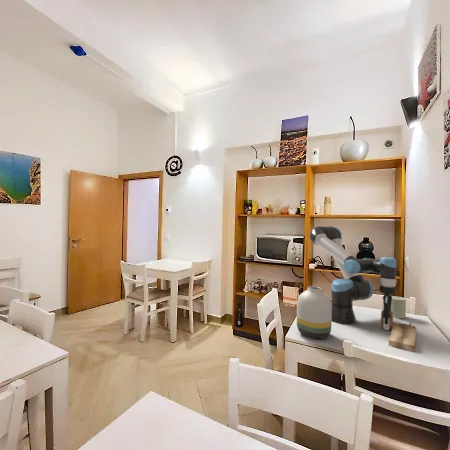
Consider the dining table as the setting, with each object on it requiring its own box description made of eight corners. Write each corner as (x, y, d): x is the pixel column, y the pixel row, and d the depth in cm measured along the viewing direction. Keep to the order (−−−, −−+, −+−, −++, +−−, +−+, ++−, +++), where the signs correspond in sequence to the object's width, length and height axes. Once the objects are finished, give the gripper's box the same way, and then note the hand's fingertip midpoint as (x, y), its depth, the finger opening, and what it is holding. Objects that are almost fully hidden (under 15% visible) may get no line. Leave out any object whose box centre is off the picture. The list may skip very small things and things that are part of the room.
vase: (331, 344, 124) (332, 293, 124) (294, 338, 130) (295, 289, 130) (330, 330, 140) (331, 285, 140) (297, 326, 146) (298, 282, 146)
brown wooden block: (380, 328, 144) (381, 312, 144) (382, 325, 148) (382, 310, 148) (414, 336, 135) (415, 318, 135) (414, 333, 139) (415, 316, 139)
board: (388, 345, 124) (388, 339, 124) (393, 327, 147) (393, 322, 147) (414, 351, 118) (414, 345, 118) (416, 331, 141) (416, 327, 141)
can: (405, 315, 166) (405, 296, 165) (406, 320, 158) (406, 300, 158) (388, 313, 170) (388, 294, 170) (388, 317, 163) (388, 297, 163)
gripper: (394, 289, 135) (393, 335, 135) (397, 283, 149) (396, 324, 149) (377, 287, 140) (376, 331, 140) (382, 282, 154) (381, 321, 154)
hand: (386, 327), depth 144 cm, fingers closed on brown wooden block, 5 cm apart
